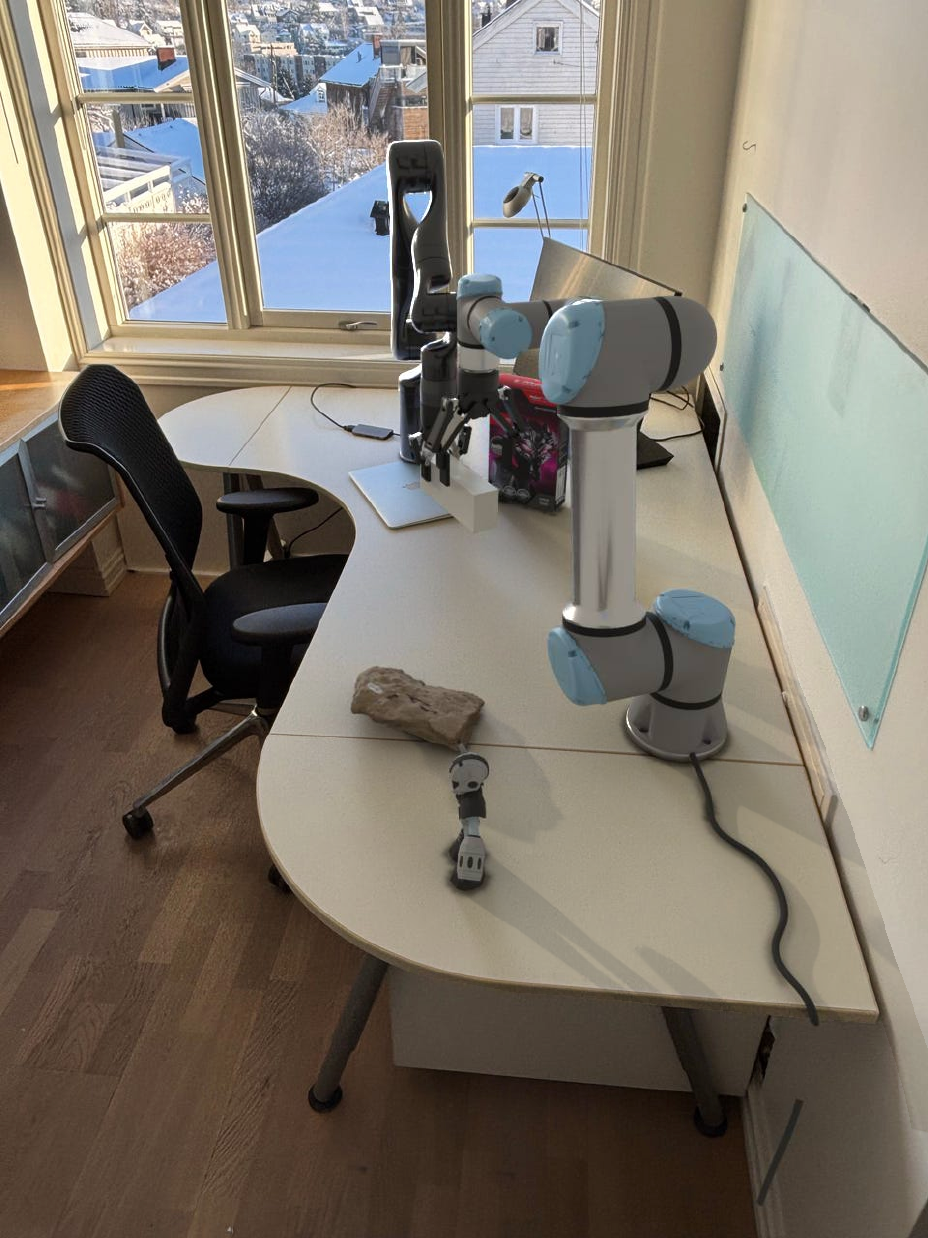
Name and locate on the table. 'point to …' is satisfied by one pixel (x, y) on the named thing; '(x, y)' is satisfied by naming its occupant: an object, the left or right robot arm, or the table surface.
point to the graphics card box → (530, 448)
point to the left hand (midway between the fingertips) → (439, 477)
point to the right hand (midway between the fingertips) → (476, 476)
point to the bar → (464, 495)
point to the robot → (469, 818)
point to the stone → (416, 706)
